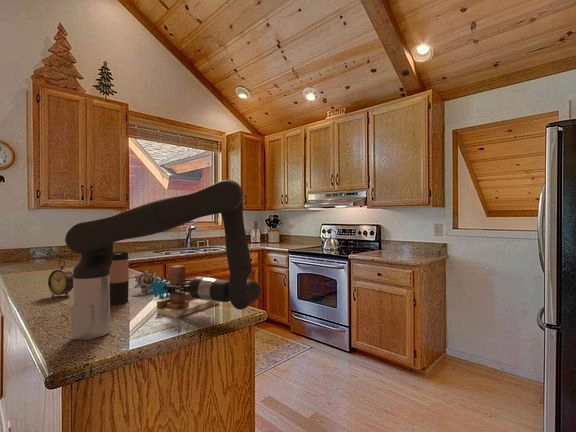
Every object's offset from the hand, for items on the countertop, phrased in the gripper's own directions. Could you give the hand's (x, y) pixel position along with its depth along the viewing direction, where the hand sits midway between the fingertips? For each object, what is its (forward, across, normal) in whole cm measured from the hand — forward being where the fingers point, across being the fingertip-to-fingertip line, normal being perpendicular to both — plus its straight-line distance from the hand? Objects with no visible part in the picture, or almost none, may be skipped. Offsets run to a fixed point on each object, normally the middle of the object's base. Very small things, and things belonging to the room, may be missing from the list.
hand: (174, 284), depth 116 cm
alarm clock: (+63, +8, +10) cm, 65 cm away
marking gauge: (-2, 0, +8) cm, 8 cm away
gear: (+22, -13, +10) cm, 28 cm away
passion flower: (+36, -16, +10) cm, 41 cm away
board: (-2, -6, +10) cm, 12 cm away
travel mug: (+30, +2, +10) cm, 32 cm away
